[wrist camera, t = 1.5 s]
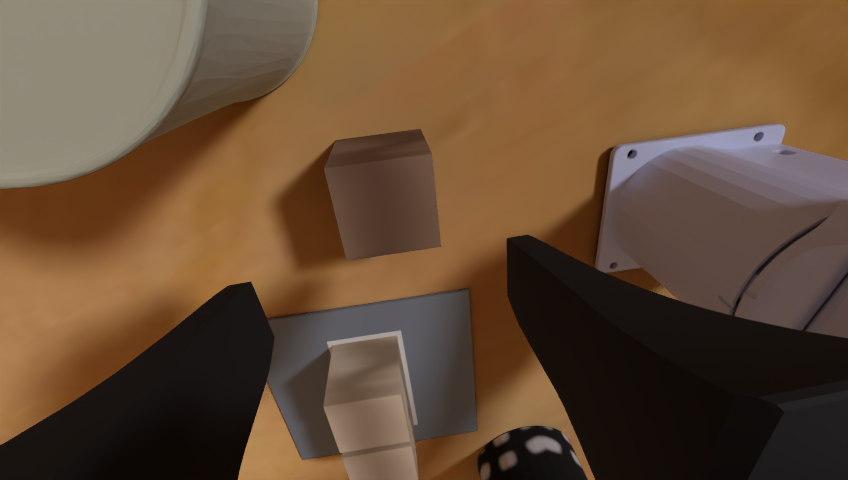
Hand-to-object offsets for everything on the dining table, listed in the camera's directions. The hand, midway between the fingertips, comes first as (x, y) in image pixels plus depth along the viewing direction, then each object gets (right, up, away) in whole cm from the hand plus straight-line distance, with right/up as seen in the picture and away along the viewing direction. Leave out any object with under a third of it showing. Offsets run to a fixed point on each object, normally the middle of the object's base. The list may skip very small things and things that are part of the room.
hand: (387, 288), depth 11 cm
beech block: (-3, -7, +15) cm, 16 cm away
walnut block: (-1, +5, +9) cm, 10 cm away
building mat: (-2, -9, +16) cm, 18 cm away
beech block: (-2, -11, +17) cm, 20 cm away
